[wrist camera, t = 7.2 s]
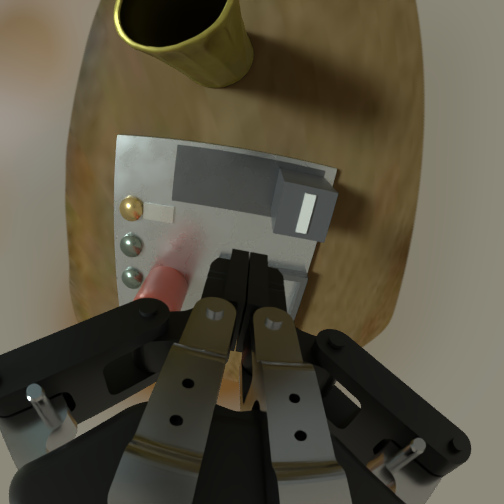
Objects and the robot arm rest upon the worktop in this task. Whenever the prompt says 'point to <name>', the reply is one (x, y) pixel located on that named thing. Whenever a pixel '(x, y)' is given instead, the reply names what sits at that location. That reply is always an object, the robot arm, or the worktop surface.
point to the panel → (201, 212)
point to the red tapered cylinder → (165, 287)
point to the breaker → (302, 205)
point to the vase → (189, 36)
